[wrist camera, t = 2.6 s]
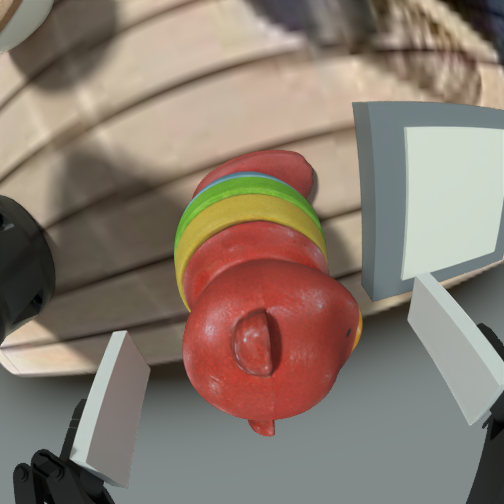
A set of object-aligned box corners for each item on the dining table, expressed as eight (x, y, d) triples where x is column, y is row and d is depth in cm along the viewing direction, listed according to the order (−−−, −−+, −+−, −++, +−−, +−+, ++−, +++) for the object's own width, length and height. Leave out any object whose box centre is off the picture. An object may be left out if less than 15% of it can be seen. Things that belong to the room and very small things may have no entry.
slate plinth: (361, 284, 29) (373, 304, 26) (352, 102, 20) (370, 102, 17) (488, 248, 28) (504, 260, 25) (499, 109, 20) (520, 113, 17)
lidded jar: (-3, 1, 10) (-58, -8, 1) (77, -50, 10) (30, -84, 1) (-5, 78, 15) (-71, 87, 7) (76, 29, 15) (11, 7, 7)
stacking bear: (301, 267, 27) (366, 444, 11) (192, 268, 26) (163, 458, 11) (313, 151, 22) (471, 263, 6) (186, 149, 21) (78, 268, 6)
